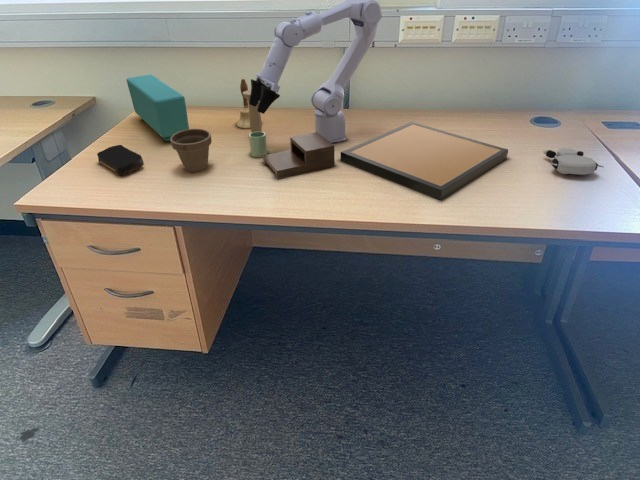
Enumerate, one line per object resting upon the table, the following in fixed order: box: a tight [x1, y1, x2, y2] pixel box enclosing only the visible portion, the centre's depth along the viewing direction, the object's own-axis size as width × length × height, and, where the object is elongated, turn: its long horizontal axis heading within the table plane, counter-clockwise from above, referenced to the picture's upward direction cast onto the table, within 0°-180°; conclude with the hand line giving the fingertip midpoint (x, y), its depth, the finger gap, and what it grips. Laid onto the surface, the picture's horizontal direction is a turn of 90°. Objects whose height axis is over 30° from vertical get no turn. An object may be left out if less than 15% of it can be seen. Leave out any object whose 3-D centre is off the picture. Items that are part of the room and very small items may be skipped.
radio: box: [126, 73, 190, 142], centre depth 160 cm, size 34×10×15 cm, turn 34°
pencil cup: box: [248, 131, 268, 158], centre depth 142 cm, size 5×5×6 cm
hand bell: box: [236, 78, 251, 129], centre depth 161 cm, size 8×8×16 cm
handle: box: [242, 89, 263, 133], centre depth 151 cm, size 5×6×15 cm
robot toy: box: [542, 147, 604, 176], centre depth 130 cm, size 12×4×15 cm
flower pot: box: [169, 128, 212, 173], centre depth 133 cm, size 12×11×10 cm
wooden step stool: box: [262, 131, 335, 180], centre depth 135 cm, size 18×12×7 cm, turn 115°
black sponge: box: [96, 144, 145, 176], centre depth 137 cm, size 16×8×4 cm, turn 46°
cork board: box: [340, 121, 509, 201], centre depth 137 cm, size 36×3×35 cm
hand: (256, 108), depth 136 cm, fingers open, 7 cm apart
